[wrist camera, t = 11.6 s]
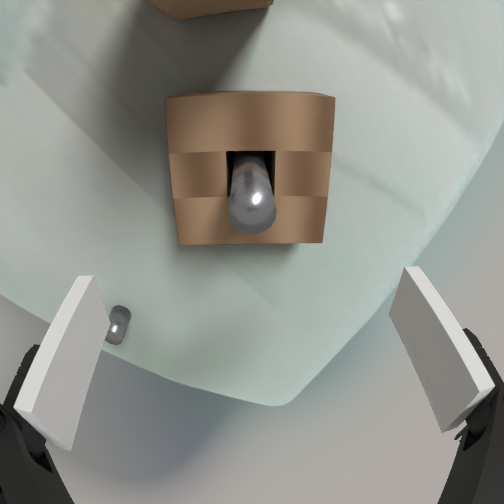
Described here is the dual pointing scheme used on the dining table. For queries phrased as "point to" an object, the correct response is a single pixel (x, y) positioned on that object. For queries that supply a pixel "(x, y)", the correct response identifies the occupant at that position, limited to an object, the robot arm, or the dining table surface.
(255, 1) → the wooden block
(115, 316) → the short pin
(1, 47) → the dining table surface
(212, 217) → the socket block
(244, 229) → the long pin
